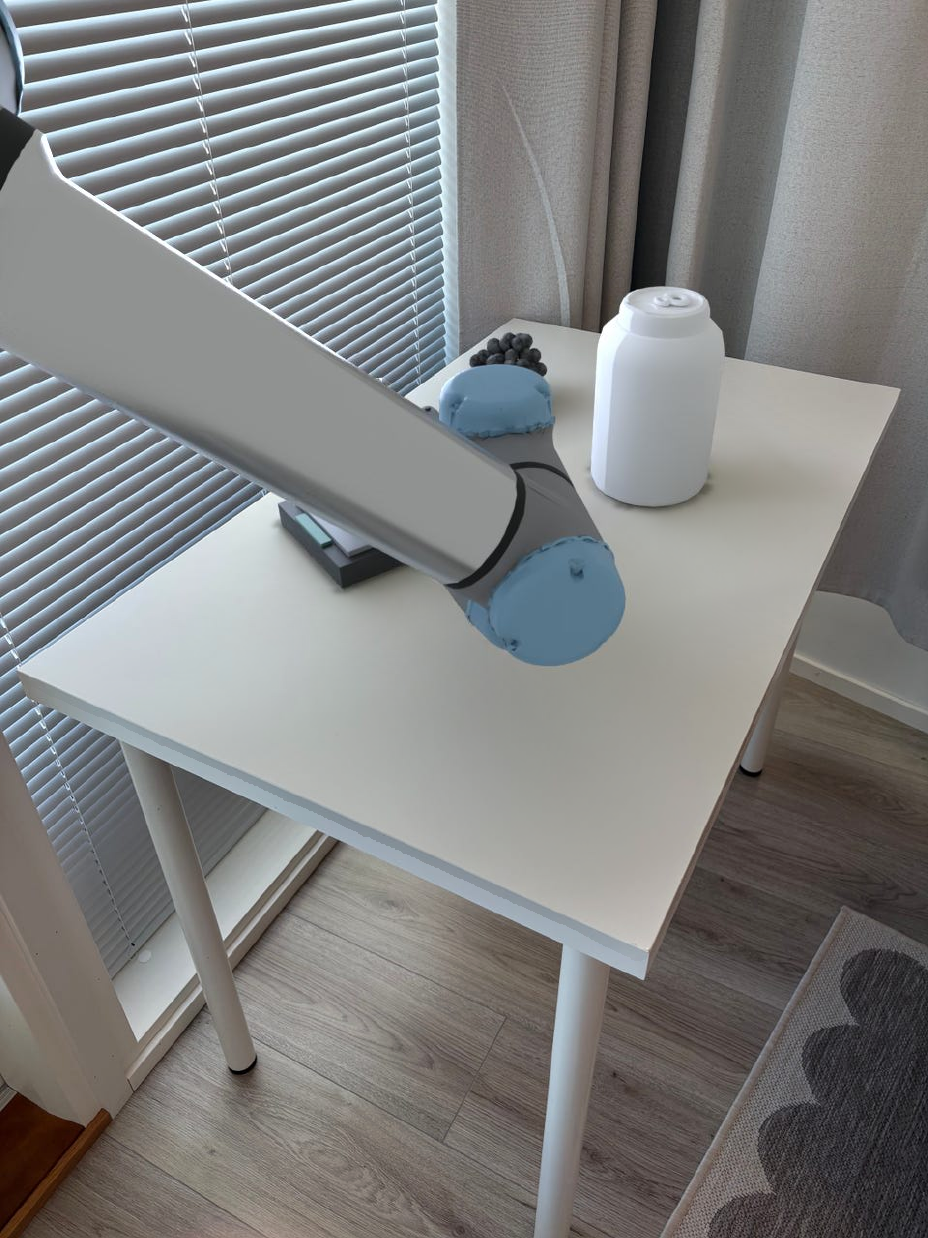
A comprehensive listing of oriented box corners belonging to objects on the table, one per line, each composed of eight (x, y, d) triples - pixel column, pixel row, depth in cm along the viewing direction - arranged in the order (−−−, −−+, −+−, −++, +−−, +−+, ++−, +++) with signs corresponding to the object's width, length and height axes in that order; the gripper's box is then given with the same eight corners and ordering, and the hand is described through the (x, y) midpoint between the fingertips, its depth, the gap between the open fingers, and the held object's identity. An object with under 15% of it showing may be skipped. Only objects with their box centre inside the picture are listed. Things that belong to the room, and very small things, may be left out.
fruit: (467, 366, 107) (547, 319, 115) (417, 370, 112) (497, 326, 121) (488, 437, 110) (564, 388, 119) (439, 438, 116) (515, 391, 125)
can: (674, 442, 110) (695, 268, 97) (727, 497, 100) (757, 312, 88) (573, 461, 107) (580, 285, 95) (617, 519, 98) (632, 331, 85)
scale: (342, 589, 90) (338, 562, 88) (281, 523, 100) (276, 498, 98) (473, 536, 96) (472, 510, 94) (404, 479, 106) (402, 454, 104)
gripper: (345, 582, 77) (263, 458, 94) (540, 521, 83) (429, 414, 99) (333, 504, 72) (249, 387, 89) (540, 445, 78) (425, 346, 95)
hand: (344, 402), depth 94 cm, fingers closed on utensil holder, 5 cm apart
